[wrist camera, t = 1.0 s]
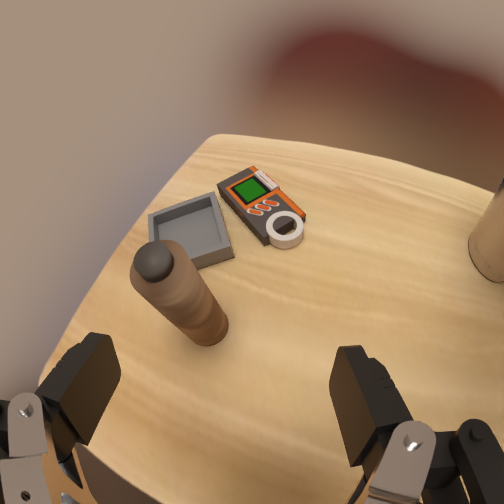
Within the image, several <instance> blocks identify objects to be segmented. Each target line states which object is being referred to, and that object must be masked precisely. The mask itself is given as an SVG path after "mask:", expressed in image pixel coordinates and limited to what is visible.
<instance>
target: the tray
mask: <svg viewBox="0 0 504 504" xmlns="http://www.w3.org/2000/svg"><path fill="white" fill-rule="evenodd" d="M148 228H149V242H152V241H160V240H173V241H176V242H178V243H179V244H180V245H182V247H183V248H184V249H185V251H186V253H187V254H188V256H189V258H190V259H191V261H192V263H193V264H194V266H195V267H196V269H197V270H198V269H201V268H204V267H207V266H210V265H213V264H216V263H219V262H222V261H225V260H228V259H231V258H234V254H233V250H232V247H231V244H230V240H229V237H228V234H227V230H226V227H225V224H224V220H223V217H222V214H221V210H220V207H219V203H218V200H217V198H216V195H215V192H214V191H213V192H210V193H207V194H204V195H201V196H198V197H196V198H193V199H190V200H187V201H184V202H181V203H178V204H176V205H173V206H170V207H168V208H165V209H162V210H159V211H157V212H154V213H152V214H149V215H148Z"/></svg>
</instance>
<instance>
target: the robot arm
mask: <svg viewBox="0 0 504 504" xmlns="http://www.w3.org/2000/svg"><path fill="white" fill-rule="evenodd" d="M468 244H469V252H470V255H471V258H472V260H473V262H474V264H475V266H476V267H477V268H478V270H479V271H480V272H481V273H482V274H483V275H484V276H485V277H487V278H488V279H490V280H492V281H495V282H503V281H504V178H503V180H502V182H501V184H500V186H499V188H498V190H497V191H496V193H495V195H494V197H493V199H492V201H491V202H490V204H489V206H488V208H487V209H486V211H485V213H484V214H483V216H482V218H481V219H480V221H479V223H478V224H477V226H476V227H475V229H474V230H473V232H472V234H471V235H470V238H469V242H468ZM120 376H121V369H120V365H119V361H118V358H117V355H116V352H115V348H114V345H113V342H112V339H111V337H110V336H109V335H105V334H99V333H94V332H90V333H89V334H88V335H87V336H86V337H85V338H84V339H83V341H82V342H81V343H78V344H76V345H75V346H73V347H72V348H70V349H69V350H68V351H67V352H66V353H65V354H64V355H63V357H62V358H61V360H59V362H58V363H57V364H56V367H54V368H53V369H52V371H51V372H50V373H49V375H48V376H47V377H46V378H45V380H44V381H43V382H42V384H41V385H40V386H39V388H38V389H37V390H36V392H35V393H34V394H33V393H22V394H19V395H17V396H16V397H14V398H13V399H12V401H5V400H0V504H97V502H96V501H95V500H94V498H93V497H92V495H91V493H90V491H89V489H88V486H87V484H86V481H85V478H84V475H83V472H82V469H81V466H80V463H79V460H78V457H77V453H76V450H75V449H74V445H75V443H76V442H78V443H81V444H84V445H86V446H88V444H89V442H90V440H91V438H92V436H93V433H94V431H95V429H96V427H97V425H98V423H99V421H100V419H101V417H102V415H103V413H104V411H105V409H106V407H107V405H108V403H109V401H110V399H111V397H112V395H113V393H114V391H115V389H116V387H117V385H118V383H119V381H120ZM329 390H330V396H331V399H332V402H333V406H334V409H335V413H336V416H337V420H338V423H339V427H340V430H341V434H342V437H343V441H344V445H345V448H346V452H347V456H348V459H349V463H350V467H355V466H359V465H362V467H363V471H364V472H363V474H362V475H361V477H360V479H359V481H358V482H357V484H356V486H355V488H354V489H353V491H352V493H351V495H350V496H349V498H348V499H347V501H346V503H345V504H422V503H420V502H419V499H420V495H421V496H422V500H423V503H424V504H469V501H468V499H467V496H466V493H465V490H464V488H463V485H462V482H461V480H460V477H459V476H462V478H463V481H464V484H465V486H466V489H467V492H468V494H469V497H470V504H504V452H503V451H502V449H501V447H500V445H499V443H498V441H497V439H496V437H495V436H494V434H493V432H492V430H491V429H490V427H489V426H488V425H487V424H486V423H485V422H483V421H481V420H478V419H470V420H467V421H465V422H464V423H463V424H462V425H461V426H460V428H459V429H458V430H457V431H448V432H434V431H433V430H432V429H431V428H430V427H429V426H428V425H427V424H425V423H423V422H420V421H414V420H413V418H412V416H411V414H410V412H409V410H408V408H407V406H406V405H405V403H404V401H403V399H402V397H401V395H400V393H399V391H398V390H397V388H395V384H394V382H393V380H392V379H390V375H389V373H388V371H387V370H386V368H385V366H384V365H382V364H381V363H380V362H379V361H378V360H376V359H375V358H368V357H367V355H366V353H365V351H364V349H363V347H362V346H361V345H353V346H340V347H339V348H338V350H337V353H336V357H335V361H334V365H333V369H332V373H331V376H330V381H329Z"/></svg>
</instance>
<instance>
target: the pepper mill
mask: <svg viewBox="0 0 504 504" xmlns="http://www.w3.org/2000/svg"><path fill="white" fill-rule="evenodd" d="M130 281H131V284H132V286H133V287H134V289H135V290H136V291H137V292H138V293H139V294H140V295H142V296H143V297H144V298H145V299H146V300H147V301H148V302H149V303H150V304H151V305H152V306H153V307H154V308H156V309H157V310H158V311H159V312H160V313H161V314H162V315H163V316H165V317H166V318H167V319H168V320H169V321H170V322H171V323H173V324H174V325H175V326H176V327H177V328H178V329H180V330H181V331H182V332H183V333H184V334H185V335H187V336H188V337H189V338H190V339H192V340H193V341H194V342H195V343H197V344H199V345H202V346H211V345H215V344H217V343H218V342H220V341H221V340H222V339H223V338H224V337H225V335H226V333H227V331H228V319H227V316H226V315H225V313H224V312H223V310H222V309H221V307H220V305H219V304H218V302H217V301H216V299H215V298H214V296H213V295H212V293H211V291H210V290H209V288H208V287H207V285H206V284H205V282H204V280H203V279H202V277H201V276H200V274H199V272H198V271H197V269H196V267H195V266H194V264H193V263H192V261H191V259H190V258H189V256H188V254H187V253H186V251H185V249H184V248H183V247H182V245H180V244H179V243H178V242H176V241H173V240H160V241H152V242H149V243H147V244H145V245H143V246H142V247H141V248H140V249H139V250H138V251H137V253H136V255H135V257H134V261H133V263H132V265H131V269H130Z"/></svg>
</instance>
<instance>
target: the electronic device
mask: <svg viewBox="0 0 504 504" xmlns="http://www.w3.org/2000/svg"><path fill="white" fill-rule="evenodd" d="M217 187H218V190H219V193H220V195H221V196H222V197H223V199H224V200H225V201H226V202H227V203H228V204H229V206H230V207H231V208H232V209H233V210H234V211H235V213H236V214H237V215H238V216H239V217H240V218H241V220H242V221H243V222H244V223H245V224H246V225H247V226H248V228H249V229H250V230H251V231H252V232H253V233H254V234H255V235H256V237H257V238H258V239H259V240H260V241H261V242H262V243H263V245H264V246H266V245H268V244H269V243H271V244H272V245H273V246H275V247H277V248H280V249H290V248H293V247H295V246H296V245H298V244H299V243H300V242H301V240H302V237H303V222H305V217H306V214H305V213H304V212H303V211H302V210H301V209H300V208H299V207H298V206H297V205H296V204H295V203H294V202H293V201H292V200H291V199H290V198H288V197H287V196H286V195H285V194H284V193H283V192H282V191H281V190H280V187H279V186H278V185H277V184H276V183H275V182H274V181H273V180H272V179H271V178H269V177H268V176H267V175H266V174H265V173H264V172H263V171H261V170H258V169H256V168H255V167H254V166H251V167H249V168H247V169H245V170H243V171H241V172H239V173H237V174H235V175H233V176H231V177H229V178H228V179H226V180H224V181H222V182H220V183H218V184H217ZM280 227H281V228H280ZM293 228H295V229H296V230H295V231H294V232H293V233H291V234H289V235H284V234H285V233H287V232H289V231H290V230H292V229H293ZM275 230H276V231H275Z"/></svg>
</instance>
